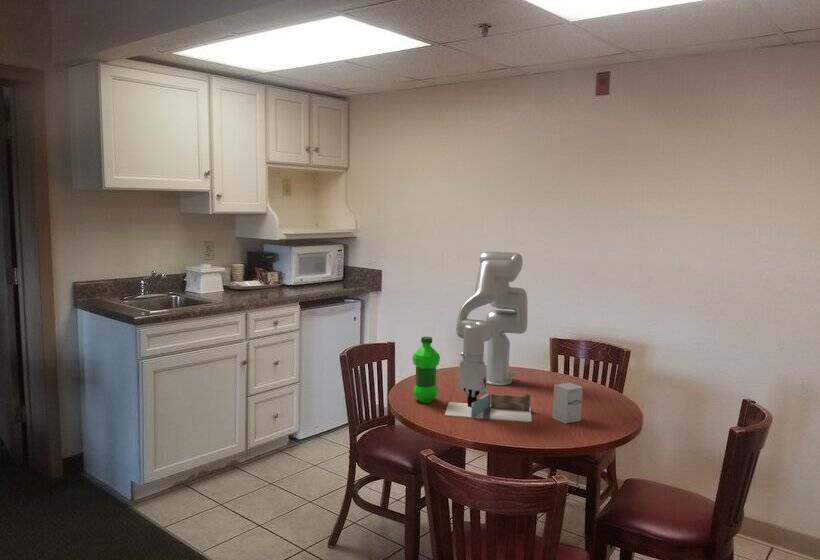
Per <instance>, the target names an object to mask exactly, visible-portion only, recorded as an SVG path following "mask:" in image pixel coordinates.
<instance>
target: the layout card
mask: <svg viewBox="0 0 820 560" xmlns="http://www.w3.org/2000/svg"><path fill="white" fill-rule="evenodd" d="M531 410H532V409H531V407H530V408H529V411H525V410H514V409H500V408H491V404H490V407H488V408H486V409H485V410H484V411H482V412H481V413H479V414H478V415H476V417H472V416H471V407H468V403H467V402H456V401H455V402H454V401H449V402H448V403H447V407H446V410H445V413H444V417H454V418H455V417H456V418H467V417H468V418H469V419H482V420H494V421H509V422H524V423H533V422H532V411H531Z"/></svg>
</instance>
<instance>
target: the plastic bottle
mask: <svg viewBox="0 0 820 560" xmlns="http://www.w3.org/2000/svg"><path fill="white" fill-rule="evenodd" d="M420 343H421V345H422V346H421V347H419V349H417V350H416V351H415V352H414V353H413V355H412V363H413V365H414V366H415V383H414V386H413V388H412V393H413V396H414V397H415V398H416V399H417V400H418V401H419V402H420V401H421V403H431V402H432V401H434V399H435V398H436V397H437V395H438V393H439V389H438V385H437V384H436V383H437V367H438V366H439V364H440V360H441V357H440V356H441V355H440V353H439V352H437V350H436V349H434V348H433V346H432V343H433V337H432V336H421V339H420ZM430 401H431V402H430Z"/></svg>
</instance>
